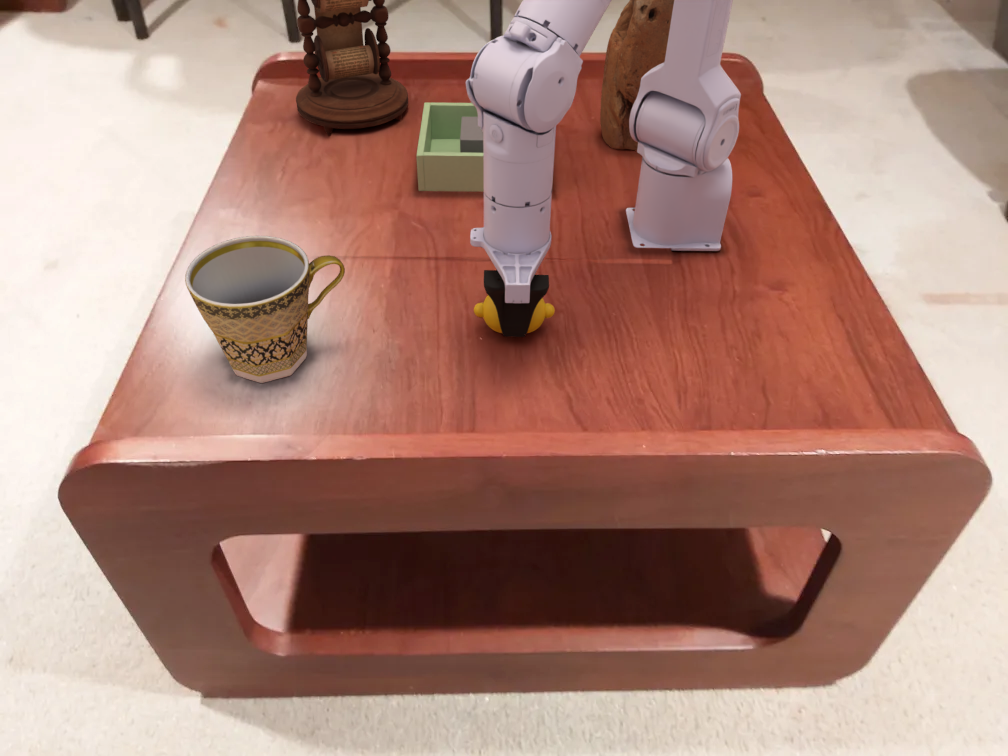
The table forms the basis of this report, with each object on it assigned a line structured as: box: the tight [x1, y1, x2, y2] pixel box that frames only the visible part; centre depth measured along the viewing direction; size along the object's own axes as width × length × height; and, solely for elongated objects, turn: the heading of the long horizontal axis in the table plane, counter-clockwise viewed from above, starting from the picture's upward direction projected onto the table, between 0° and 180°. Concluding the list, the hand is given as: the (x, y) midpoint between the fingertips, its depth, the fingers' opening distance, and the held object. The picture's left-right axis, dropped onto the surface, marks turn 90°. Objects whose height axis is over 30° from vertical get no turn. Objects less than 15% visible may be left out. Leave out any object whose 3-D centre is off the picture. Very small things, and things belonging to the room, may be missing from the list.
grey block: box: [460, 117, 483, 153], centre depth 99 cm, size 6×6×4 cm
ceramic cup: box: [184, 235, 346, 384], centre depth 72 cm, size 13×10×10 cm
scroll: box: [295, 0, 409, 136], centre depth 104 cm, size 15×15×20 cm
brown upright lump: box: [599, 0, 674, 152], centre depth 99 cm, size 11×8×20 cm
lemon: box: [473, 294, 556, 334], centre depth 77 cm, size 8×4×4 cm, turn 90°
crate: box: [415, 101, 555, 193], centre depth 99 cm, size 16×14×5 cm
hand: (513, 317), depth 77 cm, fingers open, 4 cm apart
